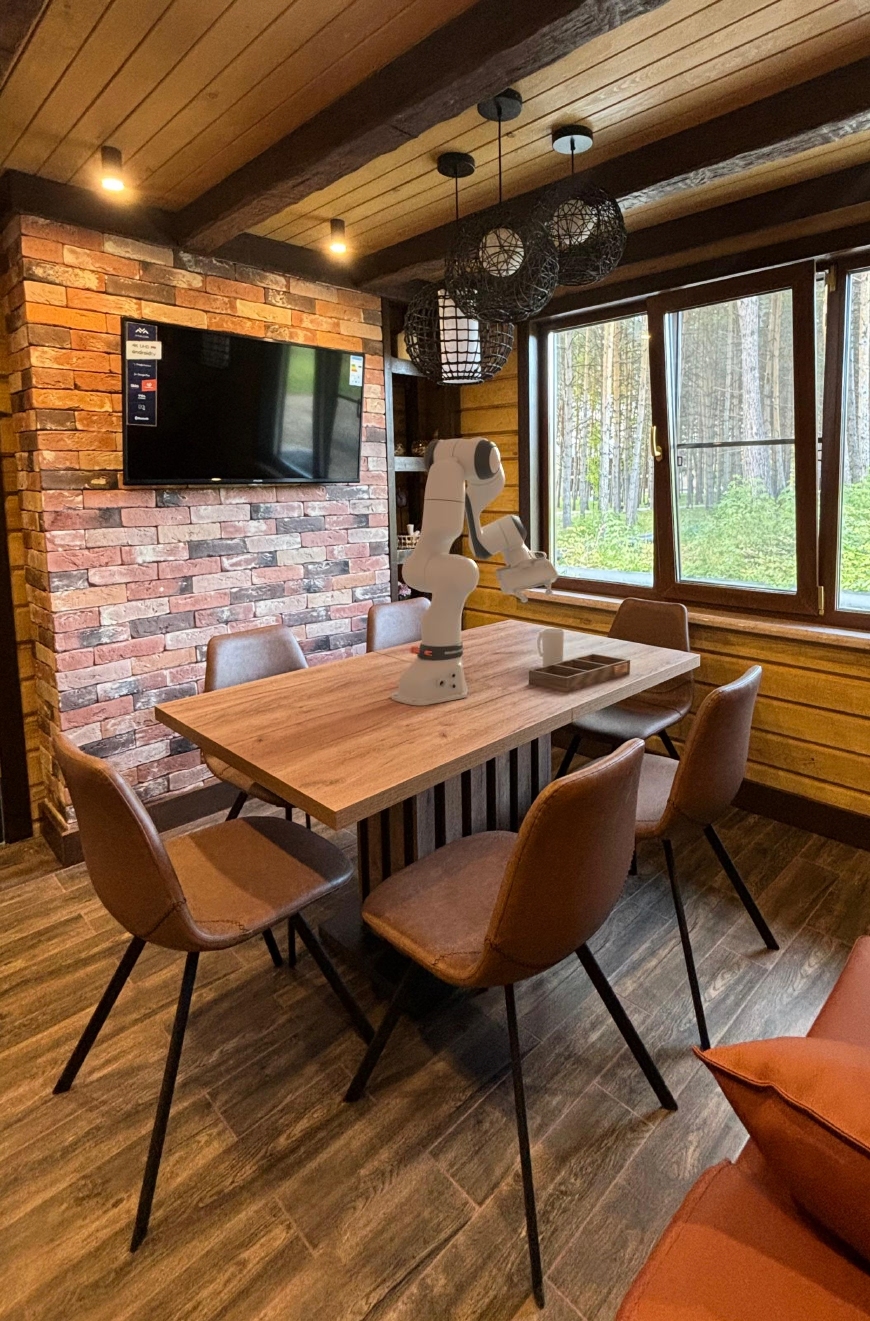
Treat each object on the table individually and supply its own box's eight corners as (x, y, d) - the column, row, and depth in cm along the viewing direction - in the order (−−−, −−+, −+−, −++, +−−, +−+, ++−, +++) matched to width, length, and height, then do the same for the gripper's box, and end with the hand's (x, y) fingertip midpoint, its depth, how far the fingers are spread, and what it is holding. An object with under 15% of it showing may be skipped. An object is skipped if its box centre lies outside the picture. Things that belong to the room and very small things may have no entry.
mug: (568, 667, 236) (568, 630, 234) (553, 671, 232) (553, 633, 230) (545, 662, 244) (545, 626, 241) (530, 665, 240) (530, 629, 237)
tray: (568, 693, 206) (568, 678, 206) (528, 684, 217) (528, 670, 216) (631, 673, 226) (631, 660, 225) (592, 666, 237) (592, 653, 236)
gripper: (495, 564, 239) (513, 600, 235) (549, 551, 246) (567, 586, 242) (489, 574, 245) (507, 610, 240) (542, 561, 252) (560, 596, 248)
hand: (537, 598), depth 241 cm, fingers open, 8 cm apart
